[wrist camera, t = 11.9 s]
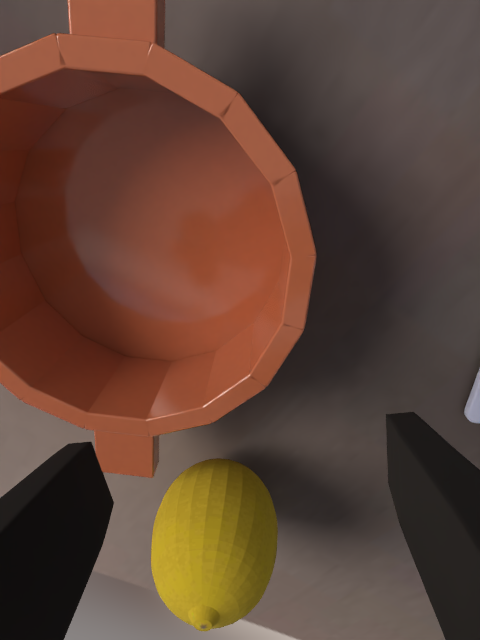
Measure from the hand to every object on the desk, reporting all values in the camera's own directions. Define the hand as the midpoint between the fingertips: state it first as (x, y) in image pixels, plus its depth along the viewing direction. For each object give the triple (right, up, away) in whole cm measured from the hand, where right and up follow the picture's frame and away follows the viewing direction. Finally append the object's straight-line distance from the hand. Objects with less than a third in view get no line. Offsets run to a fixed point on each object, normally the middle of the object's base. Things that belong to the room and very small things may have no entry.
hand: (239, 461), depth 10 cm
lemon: (-1, -4, +12) cm, 13 cm away
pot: (-4, +7, +8) cm, 11 cm away
